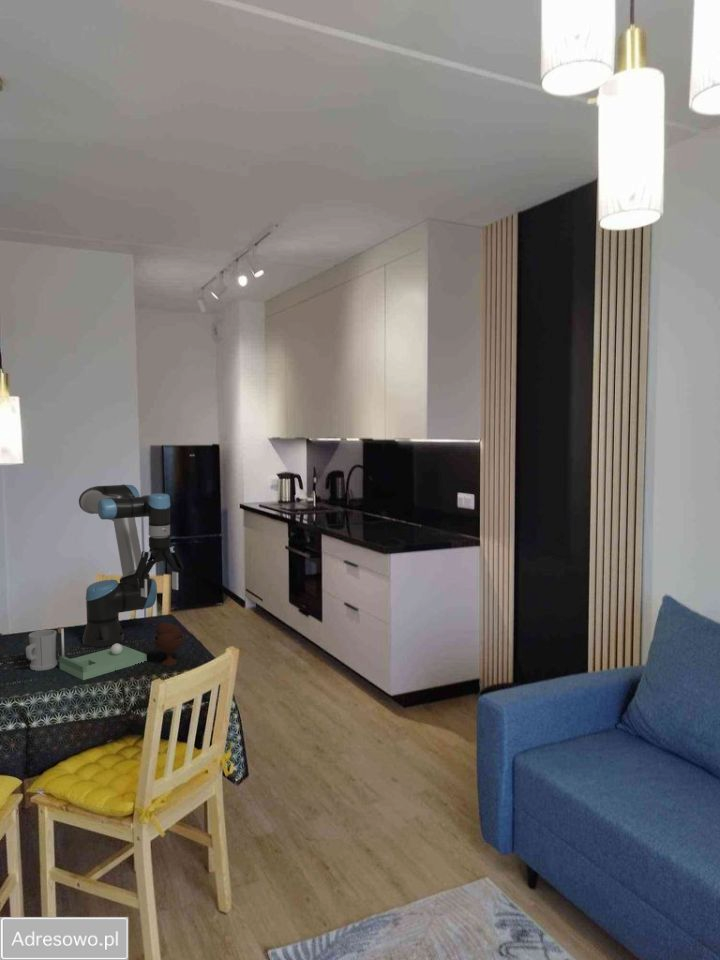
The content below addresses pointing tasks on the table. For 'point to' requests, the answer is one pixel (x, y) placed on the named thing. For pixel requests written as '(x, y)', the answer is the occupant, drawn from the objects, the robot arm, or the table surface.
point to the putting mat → (99, 661)
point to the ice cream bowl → (168, 641)
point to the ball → (116, 649)
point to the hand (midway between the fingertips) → (159, 592)
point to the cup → (42, 650)
